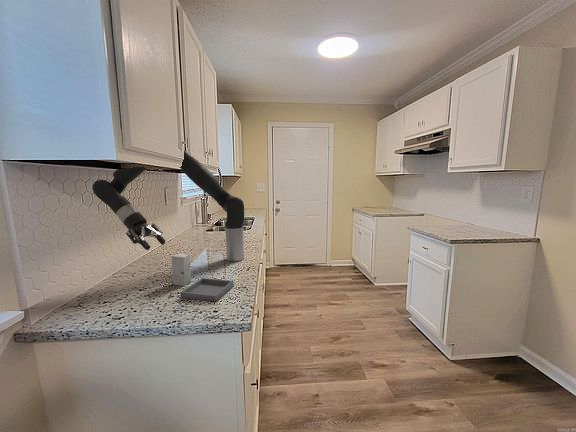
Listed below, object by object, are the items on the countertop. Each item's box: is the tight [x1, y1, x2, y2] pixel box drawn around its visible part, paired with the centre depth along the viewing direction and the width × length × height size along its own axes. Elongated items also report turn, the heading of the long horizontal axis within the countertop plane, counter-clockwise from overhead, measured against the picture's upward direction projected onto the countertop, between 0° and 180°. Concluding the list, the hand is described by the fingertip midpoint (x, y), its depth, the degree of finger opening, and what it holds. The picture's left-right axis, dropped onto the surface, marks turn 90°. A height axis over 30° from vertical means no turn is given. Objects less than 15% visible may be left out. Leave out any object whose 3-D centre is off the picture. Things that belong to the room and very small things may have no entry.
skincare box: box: [171, 252, 192, 287], centre depth 107 cm, size 6×4×12 cm
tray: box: [179, 277, 235, 304], centre depth 99 cm, size 14×14×2 cm
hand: (156, 246), depth 108 cm, fingers open, 8 cm apart
